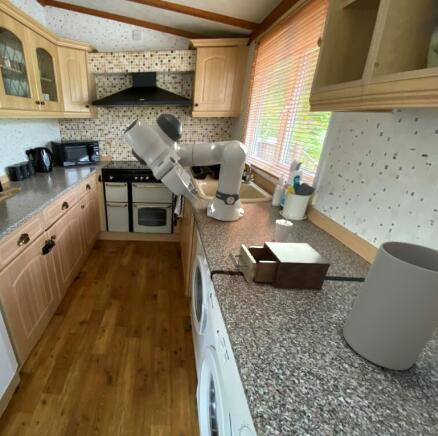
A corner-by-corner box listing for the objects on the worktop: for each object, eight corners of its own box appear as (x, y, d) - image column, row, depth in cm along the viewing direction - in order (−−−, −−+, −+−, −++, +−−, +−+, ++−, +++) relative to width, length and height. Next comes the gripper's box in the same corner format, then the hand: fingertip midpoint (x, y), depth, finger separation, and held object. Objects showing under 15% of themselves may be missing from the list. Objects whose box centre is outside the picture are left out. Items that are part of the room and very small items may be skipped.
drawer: (234, 282, 78) (238, 262, 74) (225, 262, 88) (228, 244, 85) (291, 284, 77) (297, 264, 74) (275, 264, 88) (279, 245, 84)
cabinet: (274, 287, 77) (281, 262, 73) (259, 265, 89) (264, 242, 85) (321, 289, 77) (330, 263, 73) (299, 266, 88) (306, 243, 84)
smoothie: (289, 247, 101) (298, 216, 95) (273, 245, 102) (280, 215, 97) (284, 240, 107) (292, 210, 101) (269, 238, 108) (276, 209, 102)
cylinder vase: (329, 327, 63) (364, 242, 53) (373, 324, 64) (415, 240, 54) (375, 374, 51) (431, 277, 41) (427, 369, 52) (494, 274, 43)
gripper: (163, 167, 85) (189, 195, 87) (152, 177, 67) (186, 213, 68) (176, 154, 83) (203, 184, 84) (169, 161, 64) (203, 198, 66)
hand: (195, 197), depth 76 cm, fingers open, 8 cm apart
